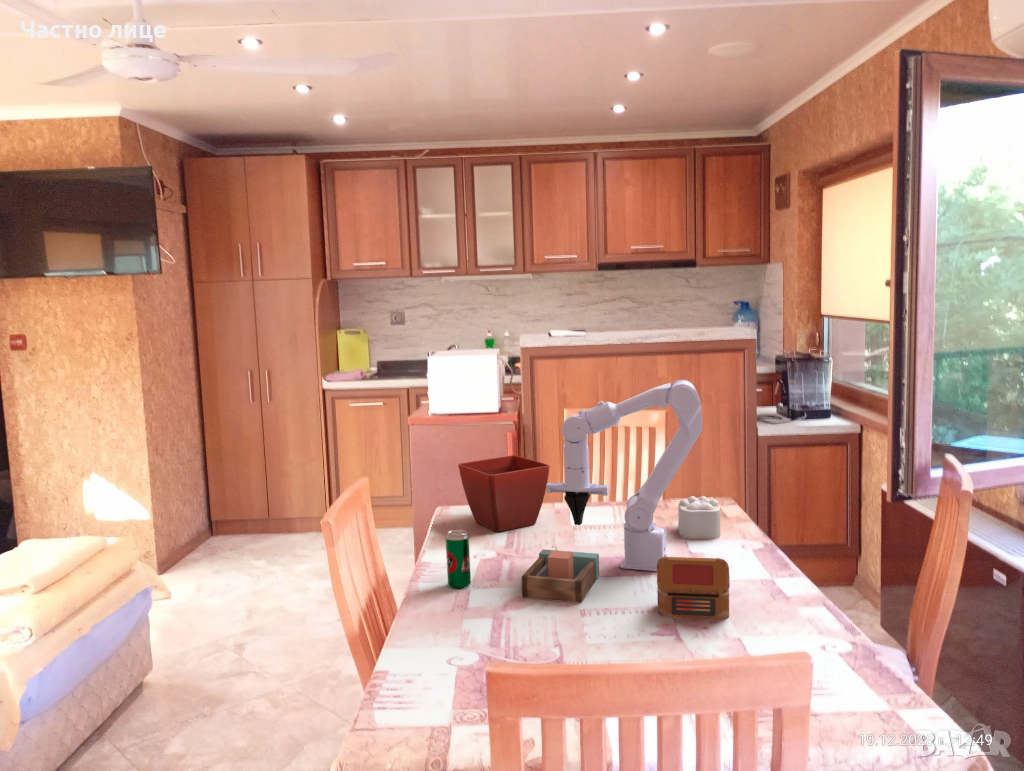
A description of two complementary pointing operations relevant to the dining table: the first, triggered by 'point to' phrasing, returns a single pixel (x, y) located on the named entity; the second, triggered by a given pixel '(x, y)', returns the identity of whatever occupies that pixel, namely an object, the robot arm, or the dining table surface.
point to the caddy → (557, 584)
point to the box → (693, 588)
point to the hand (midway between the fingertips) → (578, 523)
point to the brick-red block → (561, 565)
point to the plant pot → (505, 490)
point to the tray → (578, 562)
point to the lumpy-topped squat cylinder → (699, 518)
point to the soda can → (458, 559)
